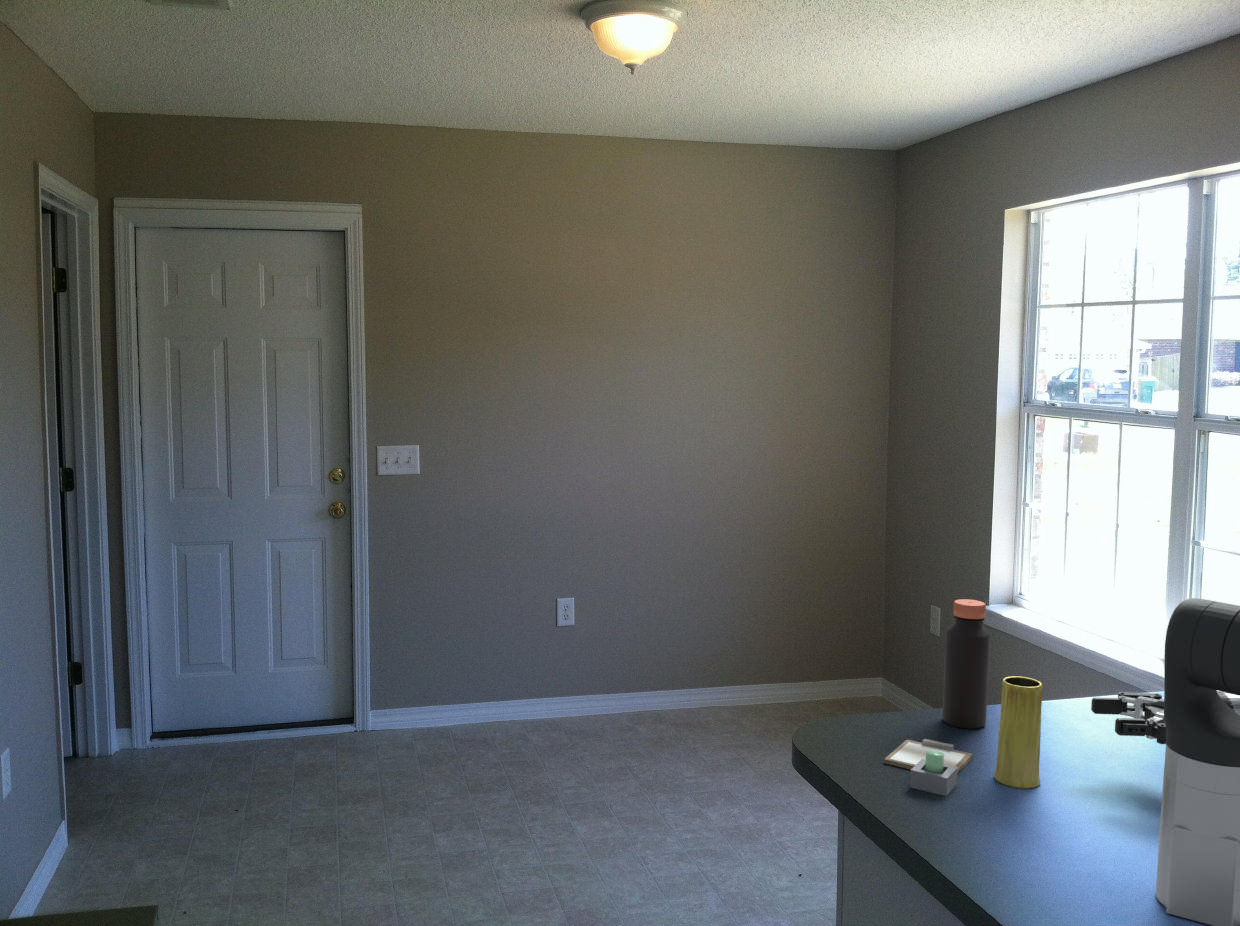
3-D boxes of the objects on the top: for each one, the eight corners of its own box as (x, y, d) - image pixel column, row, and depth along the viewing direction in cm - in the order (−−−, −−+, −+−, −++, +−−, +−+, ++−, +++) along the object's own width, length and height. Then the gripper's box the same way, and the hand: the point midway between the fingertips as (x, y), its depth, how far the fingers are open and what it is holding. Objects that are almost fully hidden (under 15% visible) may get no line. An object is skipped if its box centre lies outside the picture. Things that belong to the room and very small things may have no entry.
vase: (990, 783, 146) (996, 683, 144) (997, 768, 151) (1002, 672, 150) (1037, 792, 143) (1043, 690, 142) (1042, 777, 148) (1048, 679, 147)
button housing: (946, 796, 141) (947, 778, 141) (909, 787, 144) (910, 769, 144) (956, 784, 145) (957, 766, 145) (921, 775, 148) (922, 758, 148)
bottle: (933, 720, 171) (939, 601, 169) (957, 712, 176) (963, 595, 174) (970, 732, 166) (976, 609, 164) (994, 724, 170) (1000, 603, 168)
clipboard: (952, 779, 147) (953, 769, 147) (884, 763, 153) (884, 753, 152) (972, 757, 155) (973, 748, 155) (906, 743, 161) (907, 734, 161)
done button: (940, 780, 143) (941, 758, 142) (922, 776, 144) (923, 754, 144) (945, 775, 145) (946, 752, 144) (928, 771, 146) (929, 749, 146)
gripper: (1201, 676, 151) (1085, 674, 152) (1253, 710, 137) (1126, 706, 138) (1197, 727, 152) (1083, 723, 153) (1249, 765, 138) (1123, 761, 139)
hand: (1103, 715), depth 146 cm, fingers open, 8 cm apart
